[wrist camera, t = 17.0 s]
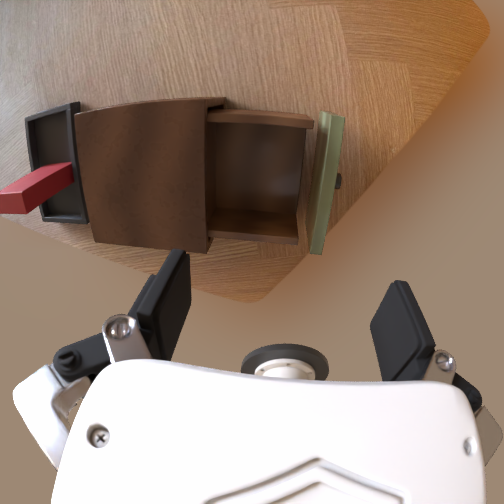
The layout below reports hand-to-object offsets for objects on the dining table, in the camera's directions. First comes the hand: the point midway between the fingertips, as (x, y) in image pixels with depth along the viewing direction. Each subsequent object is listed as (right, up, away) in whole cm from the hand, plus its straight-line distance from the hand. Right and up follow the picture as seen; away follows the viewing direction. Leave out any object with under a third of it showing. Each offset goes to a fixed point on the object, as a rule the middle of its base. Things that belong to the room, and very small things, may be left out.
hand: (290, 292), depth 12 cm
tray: (-30, +15, +19) cm, 39 cm away
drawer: (+1, +11, +17) cm, 20 cm away
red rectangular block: (-30, +13, +19) cm, 38 cm away
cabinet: (-12, +13, +18) cm, 25 cm away
